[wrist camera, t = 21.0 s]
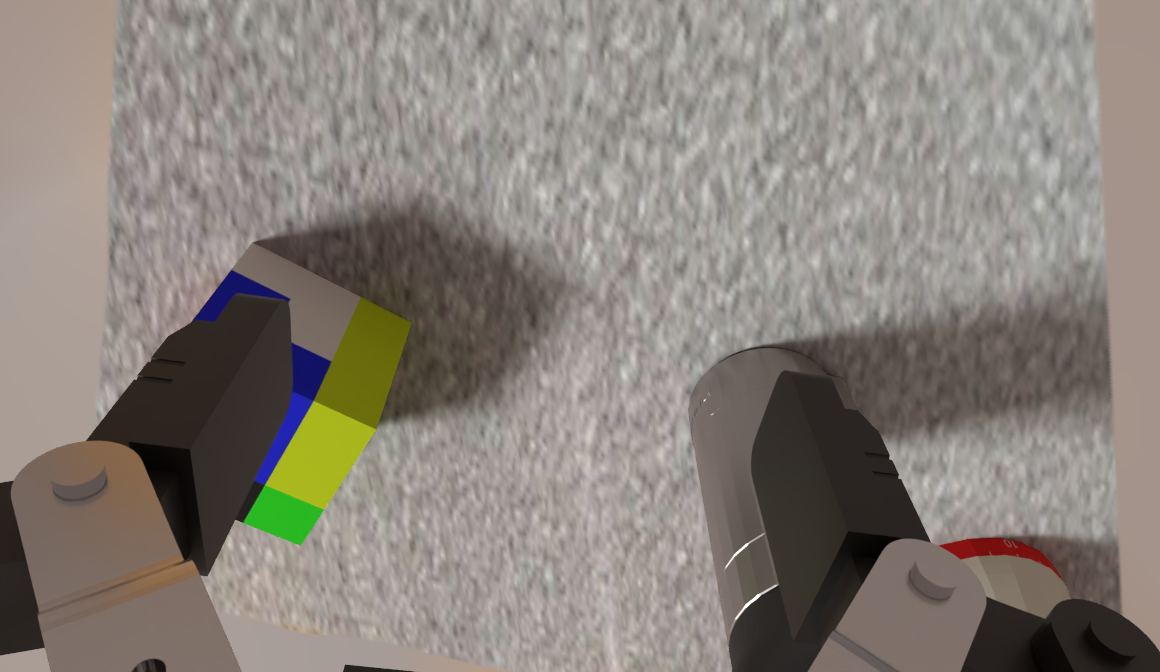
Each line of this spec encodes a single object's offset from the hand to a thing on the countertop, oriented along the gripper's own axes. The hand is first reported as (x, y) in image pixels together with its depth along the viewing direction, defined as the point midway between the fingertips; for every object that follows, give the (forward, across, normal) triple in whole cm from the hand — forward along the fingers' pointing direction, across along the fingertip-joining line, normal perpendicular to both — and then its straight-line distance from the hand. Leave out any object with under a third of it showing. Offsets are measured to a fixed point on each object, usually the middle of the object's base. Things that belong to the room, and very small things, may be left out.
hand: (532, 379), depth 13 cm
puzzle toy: (+30, +13, +22) cm, 40 cm away
